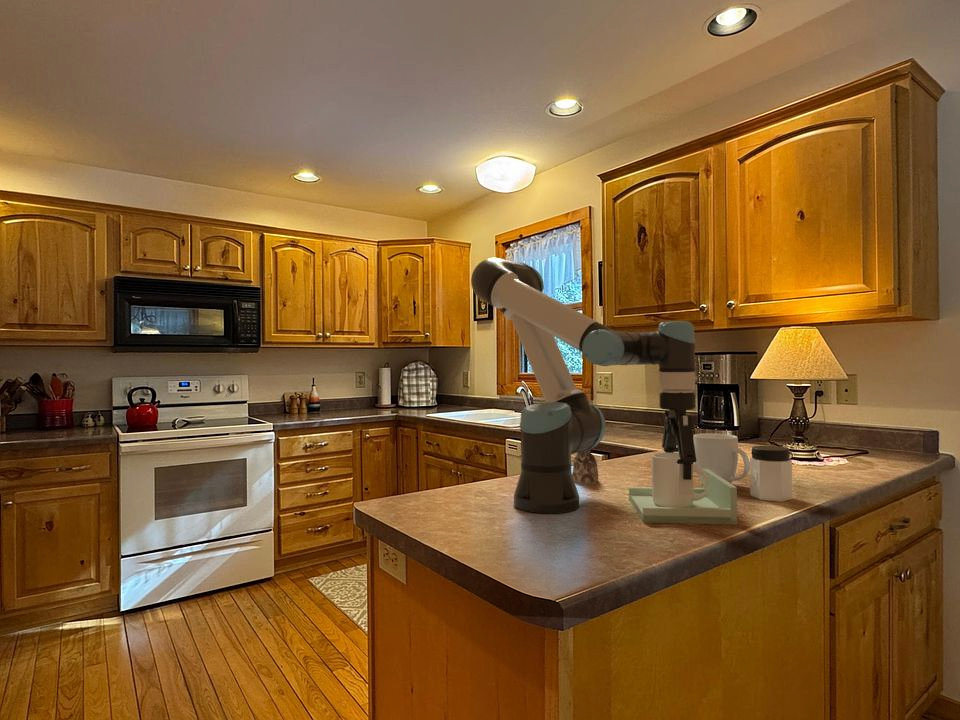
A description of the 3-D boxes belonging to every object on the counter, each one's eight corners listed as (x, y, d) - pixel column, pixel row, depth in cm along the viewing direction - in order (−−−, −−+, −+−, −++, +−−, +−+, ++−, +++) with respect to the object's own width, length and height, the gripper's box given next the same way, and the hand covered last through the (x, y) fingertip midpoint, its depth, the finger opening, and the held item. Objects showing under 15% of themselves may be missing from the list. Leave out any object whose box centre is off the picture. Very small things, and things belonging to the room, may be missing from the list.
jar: (744, 493, 140) (744, 445, 140) (776, 493, 140) (776, 444, 140) (764, 502, 131) (763, 451, 131) (798, 501, 131) (797, 450, 131)
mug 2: (761, 488, 145) (760, 437, 145) (736, 494, 139) (735, 441, 139) (709, 478, 158) (709, 432, 158) (685, 483, 151) (684, 435, 152)
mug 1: (701, 514, 116) (700, 462, 116) (646, 504, 124) (645, 456, 124) (715, 505, 122) (714, 456, 122) (661, 497, 130) (661, 451, 130)
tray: (643, 522, 115) (643, 486, 115) (629, 499, 135) (628, 468, 135) (737, 524, 113) (736, 487, 113) (708, 500, 133) (708, 469, 133)
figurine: (567, 482, 155) (567, 438, 155) (578, 477, 161) (577, 435, 161) (592, 485, 151) (591, 440, 151) (602, 480, 157) (601, 437, 157)
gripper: (711, 394, 111) (713, 501, 111) (680, 388, 136) (681, 475, 136) (672, 394, 112) (674, 500, 112) (648, 388, 137) (649, 475, 137)
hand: (678, 487), depth 124 cm, fingers open, 13 cm apart
